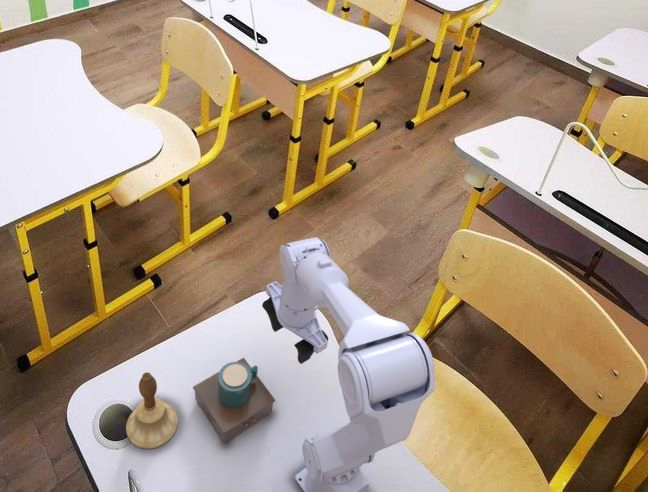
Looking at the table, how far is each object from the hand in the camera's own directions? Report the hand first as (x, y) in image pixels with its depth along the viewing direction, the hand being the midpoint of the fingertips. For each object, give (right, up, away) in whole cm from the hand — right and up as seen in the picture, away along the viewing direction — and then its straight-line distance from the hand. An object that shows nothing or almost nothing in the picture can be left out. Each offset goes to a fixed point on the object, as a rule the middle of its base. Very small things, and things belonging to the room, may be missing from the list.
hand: (291, 343), depth 101 cm
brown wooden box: (-10, -11, +1) cm, 15 cm away
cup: (-9, -8, -2) cm, 12 cm away
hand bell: (-23, -13, -3) cm, 27 cm away
